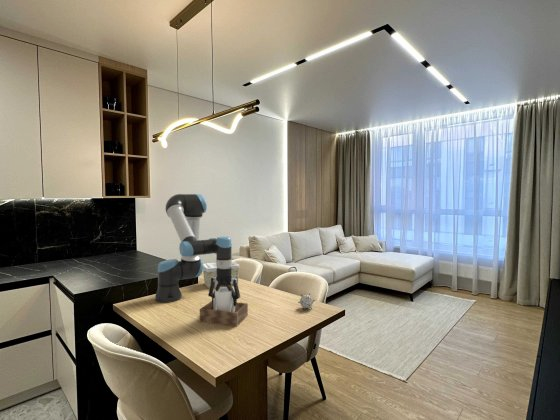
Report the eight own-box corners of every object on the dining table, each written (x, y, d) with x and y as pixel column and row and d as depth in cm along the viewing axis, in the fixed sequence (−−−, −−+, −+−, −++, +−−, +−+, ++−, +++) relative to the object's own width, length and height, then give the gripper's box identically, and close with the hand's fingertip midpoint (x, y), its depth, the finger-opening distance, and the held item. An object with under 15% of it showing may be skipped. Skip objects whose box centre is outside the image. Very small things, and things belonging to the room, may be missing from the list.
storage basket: (206, 289, 204) (206, 267, 203) (201, 283, 218) (201, 263, 218) (240, 285, 214) (240, 264, 214) (233, 279, 229) (233, 260, 228)
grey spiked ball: (303, 315, 167) (292, 300, 169) (311, 306, 173) (301, 291, 174) (312, 311, 161) (301, 296, 162) (320, 302, 167) (310, 287, 168)
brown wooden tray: (199, 322, 149) (199, 309, 149) (213, 311, 163) (213, 300, 163) (237, 326, 144) (237, 313, 144) (247, 315, 158) (247, 303, 157)
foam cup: (229, 319, 148) (229, 293, 147) (211, 317, 150) (211, 292, 149) (236, 312, 157) (235, 287, 157) (219, 310, 159) (219, 286, 158)
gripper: (200, 267, 152) (201, 311, 153) (241, 270, 146) (241, 315, 147) (208, 264, 159) (208, 306, 160) (247, 267, 153) (247, 310, 154)
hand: (224, 311), depth 153 cm, fingers closed on foam cup, 9 cm apart
